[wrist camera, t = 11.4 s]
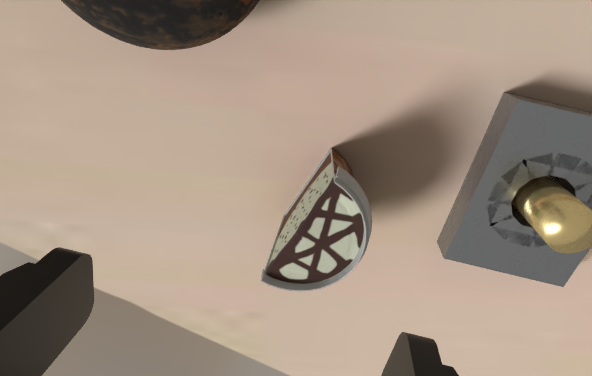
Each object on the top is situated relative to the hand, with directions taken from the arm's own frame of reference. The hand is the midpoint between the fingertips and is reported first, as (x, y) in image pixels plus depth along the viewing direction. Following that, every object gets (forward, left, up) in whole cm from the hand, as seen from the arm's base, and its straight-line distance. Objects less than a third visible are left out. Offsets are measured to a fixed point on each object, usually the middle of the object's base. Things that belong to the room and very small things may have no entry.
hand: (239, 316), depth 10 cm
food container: (+10, +4, -28) cm, 30 cm away
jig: (+4, +22, -28) cm, 36 cm away
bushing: (+4, +22, -28) cm, 36 cm away
